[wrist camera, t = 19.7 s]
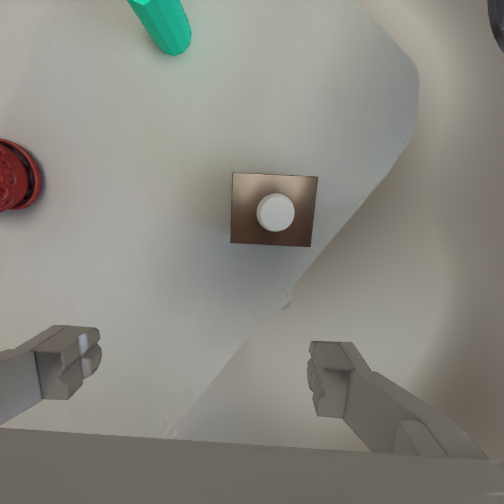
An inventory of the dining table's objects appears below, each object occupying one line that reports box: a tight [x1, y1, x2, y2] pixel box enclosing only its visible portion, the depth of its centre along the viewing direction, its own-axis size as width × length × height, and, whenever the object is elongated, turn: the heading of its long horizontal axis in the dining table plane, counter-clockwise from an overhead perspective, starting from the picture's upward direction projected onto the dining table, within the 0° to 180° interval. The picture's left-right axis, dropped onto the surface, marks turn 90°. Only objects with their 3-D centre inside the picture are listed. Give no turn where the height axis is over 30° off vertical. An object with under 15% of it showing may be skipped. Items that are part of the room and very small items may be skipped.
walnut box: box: [230, 172, 318, 247], centre depth 39 cm, size 12×10×7 cm
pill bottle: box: [256, 193, 295, 232], centre depth 31 cm, size 5×5×8 cm
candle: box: [127, 0, 191, 56], centre depth 31 cm, size 6×6×12 cm
